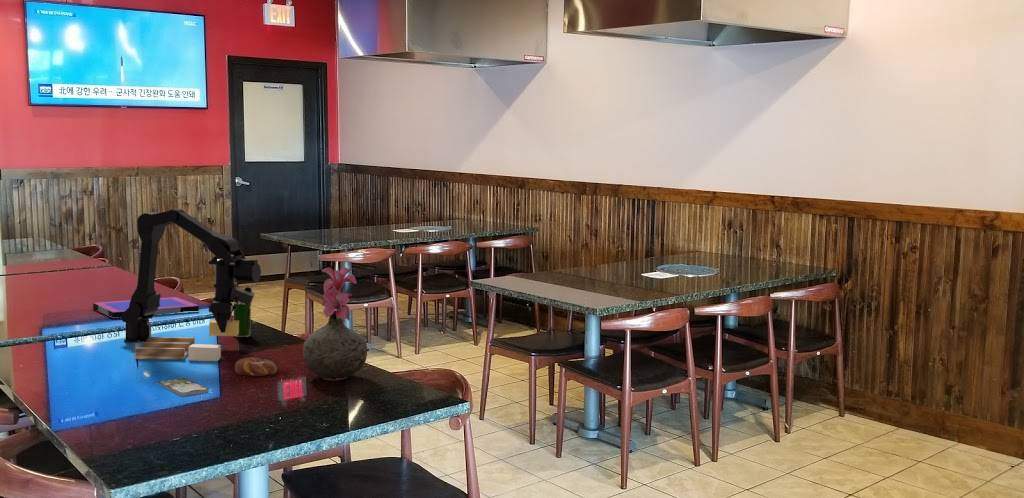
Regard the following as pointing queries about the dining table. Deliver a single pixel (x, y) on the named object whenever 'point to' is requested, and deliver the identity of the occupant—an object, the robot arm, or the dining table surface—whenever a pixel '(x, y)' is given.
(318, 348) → the vase
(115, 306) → the book
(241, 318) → the beer can
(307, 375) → the dining table surface
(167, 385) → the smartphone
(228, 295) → the robot arm
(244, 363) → the pretzel
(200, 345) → the cream bar
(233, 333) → the ochre bar
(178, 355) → the comb board
